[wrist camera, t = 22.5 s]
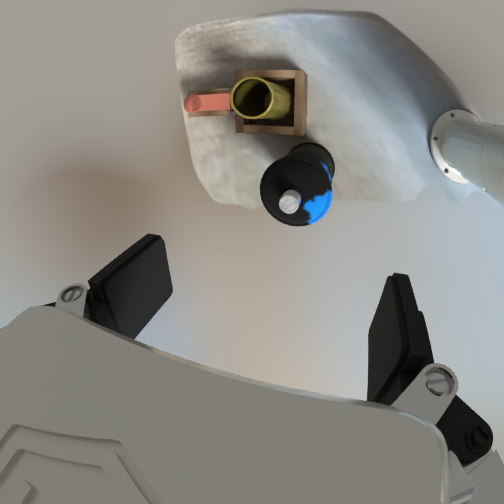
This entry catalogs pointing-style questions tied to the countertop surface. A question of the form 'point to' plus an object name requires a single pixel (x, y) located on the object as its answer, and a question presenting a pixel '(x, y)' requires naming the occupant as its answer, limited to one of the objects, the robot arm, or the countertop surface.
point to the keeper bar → (207, 102)
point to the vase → (262, 99)
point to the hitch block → (248, 127)
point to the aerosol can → (299, 185)
